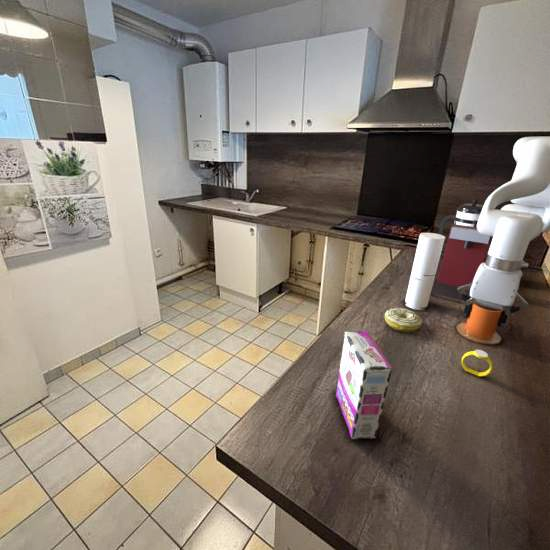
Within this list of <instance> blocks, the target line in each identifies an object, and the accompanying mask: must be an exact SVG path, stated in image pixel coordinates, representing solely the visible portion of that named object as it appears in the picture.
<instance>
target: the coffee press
mask: <svg viewBox="0 0 550 550" xmlns="http://www.w3.org/2000/svg"><path fill="white" fill-rule="evenodd" d="M471 201H472V203H462V204H461V205H459V206H458V207H457V208H456V214H455V215H454V214H449V215H446V216H444V217H443V218H442V220H441V222H440V226H439V230H438V233H437V234H439V235H443V233H444V230H445V226H446V223H447V221H448V220H451V219H452V220H453V219H454V223H453V224H456V225H464V226H471V227H477V223H478V219H479V216H480V214H481V211H482V208H483V206H484V204H478V202H479V200H478V199H477V198H474V199H472V200H471ZM446 245H447V242H445V241H444V244H443V247H446ZM443 257H444V255H443V256H442V258H443Z"/></svg>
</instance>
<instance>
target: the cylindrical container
mask: <svg viewBox="0 0 550 550" xmlns="http://www.w3.org/2000/svg"><path fill="white" fill-rule="evenodd" d="M445 240H446V236H445V235H443V234H442V235H439V234H438V233H434V232H421V233H419V237H418V242H417V246H416V251H415V254H414V260H413V264H412V269H411V274H410V277H409V282H408V287H407V290H406V295H405V303H404V305H405V306H406V307H407V308H410V309H412V310H417V311H425V310H426V308H427V307H428V305H429V302H430V298H431V294H432V291H433V286H434V283H435V279H436V274H437V271H438V267H439V262H440V259H441V255H442V250H443V248H444V246H443V244H444V242H445Z"/></svg>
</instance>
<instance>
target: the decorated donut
mask: <svg viewBox="0 0 550 550" xmlns="http://www.w3.org/2000/svg"><path fill="white" fill-rule="evenodd" d="M384 320H385V323H386V325H388V326H389V327H390V328H392V329H393V330H396V331H397V332H402V333H413V332H416V331H417V330H418V329H420V328H421V326H422V324H423V320H422V318H421V317H420V315H418V313H415V312H414V311H413V310H410V309H407V308H404V307H395V308H390V309H388V310H386V311H385V313H384Z"/></svg>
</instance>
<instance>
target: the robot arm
mask: <svg viewBox="0 0 550 550" xmlns="http://www.w3.org/2000/svg"><path fill="white" fill-rule="evenodd" d="M512 156H513V158H514V160H515V162H516V166H515V169H514V172H513V175H512V178H511V180H510V181H507V182H506V183H504V184H502V185H501V186H499V187H497V188H496V189H495V190H494V191H493V192H491V193H490V195H488V197H487V198H486V199H485V201H484V204H483V208H482V211H481V214H480V216H479V219H478V223H477V230H478V232H479V233H480V234H482V235H486V236H492V238H491V241H490V244H489V247H488V250H487V253H486V256H485V260H484V262H483V263H481V265H480V266H479V268H478V270H477V272H476V274H475V277H474V280H473V282H472V283H469V284H466V285H463V286H460V287H458V289H457V290H458V292H459V294H460V295H461V298H462V299H463V300H464V301H463V302H464V303H465V306H464V310H463V314H465V316H464V318H466V319H467V318H468V316H469V313H470V310H471V307H472V303H473V302H474V301H475V300H481V301H485V302H489V303H494V304H498V305H500V306H501V307H502V308H503V312H502V314H501V317H500V320H499V323H498V325H497V327H499V328H502V325H505V324H506V322H507V320H508V317H509V316H511V314H515V313H517V312H519V311H520V310H523V309H525V308H527V307H528V306H529V303H528V301H526V300H525V298H523V297H522V296H521V295H520V294H519V292H518V290H519V287H520V283H521V278H522V277H523V275H524V274H523V272H522V270H521V269H528V267H529V265H530V264H529V263H528V262H525V261H524V258H525V255H526V252H527V249H528V247H529V244H530V242H531V241H534V240H535V239H536V238H538V237H539V236H540V235H541V233H548V232H550V135H549V136H545V135H544V136H524V137H521V138H519V139H517V141H516V142H515V143H514V145H513V149H512ZM505 202H510V203H509V204H506V205H503V206H502V207H501V208H500V209H497V208H496V207H498V206H499V205H501V204H503V203H505ZM468 289H470V296H469V297H468V296H467V294H466V293H465V290H468ZM515 301H516V302H517V304H514V303H515Z"/></svg>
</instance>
